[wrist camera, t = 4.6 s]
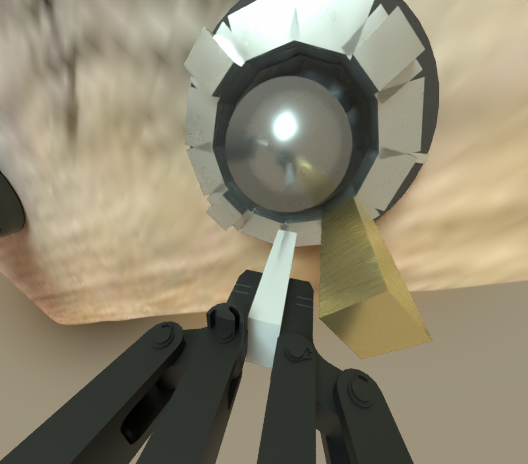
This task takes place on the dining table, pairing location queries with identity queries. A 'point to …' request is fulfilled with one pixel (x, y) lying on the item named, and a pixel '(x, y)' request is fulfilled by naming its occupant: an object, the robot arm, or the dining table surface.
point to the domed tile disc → (368, 174)
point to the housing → (313, 127)
